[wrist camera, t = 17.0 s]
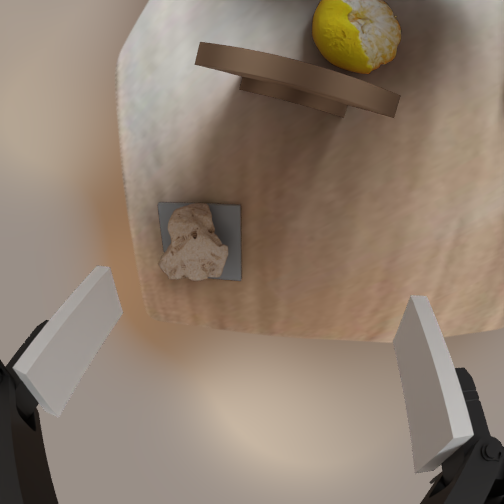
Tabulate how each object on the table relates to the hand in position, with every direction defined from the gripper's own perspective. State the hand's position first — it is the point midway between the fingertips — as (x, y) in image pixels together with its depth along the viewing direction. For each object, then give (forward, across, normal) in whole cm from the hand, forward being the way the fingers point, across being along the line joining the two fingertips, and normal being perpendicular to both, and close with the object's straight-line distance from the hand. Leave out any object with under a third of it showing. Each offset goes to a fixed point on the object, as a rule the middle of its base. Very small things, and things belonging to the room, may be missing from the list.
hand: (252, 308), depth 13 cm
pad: (+29, -12, -14) cm, 34 cm away
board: (+30, +1, +9) cm, 31 cm away
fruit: (+31, +8, +16) cm, 36 cm away
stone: (+29, -13, -13) cm, 34 cm away
